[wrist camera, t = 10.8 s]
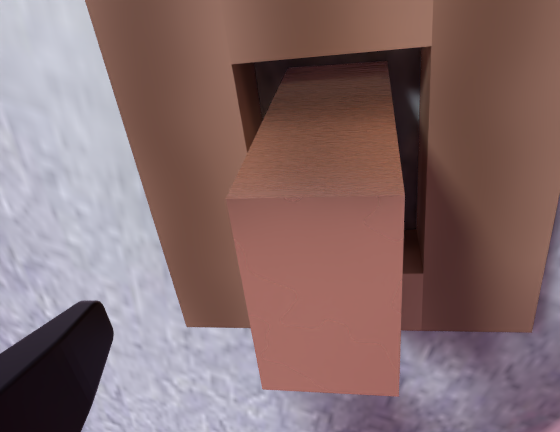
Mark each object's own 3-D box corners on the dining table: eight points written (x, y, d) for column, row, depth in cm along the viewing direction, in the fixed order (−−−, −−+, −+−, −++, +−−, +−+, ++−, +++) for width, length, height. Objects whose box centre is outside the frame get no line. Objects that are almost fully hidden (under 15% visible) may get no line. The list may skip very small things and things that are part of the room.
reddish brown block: (387, 61, 15) (405, 195, 8) (385, 204, 17) (399, 396, 10) (287, 67, 15) (225, 198, 8) (301, 206, 18) (262, 389, 11)
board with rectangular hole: (574, -100, 12) (618, -99, 10) (512, 283, 18) (531, 332, 16) (119, -36, 14) (77, -26, 12) (204, 283, 20) (186, 326, 18)
